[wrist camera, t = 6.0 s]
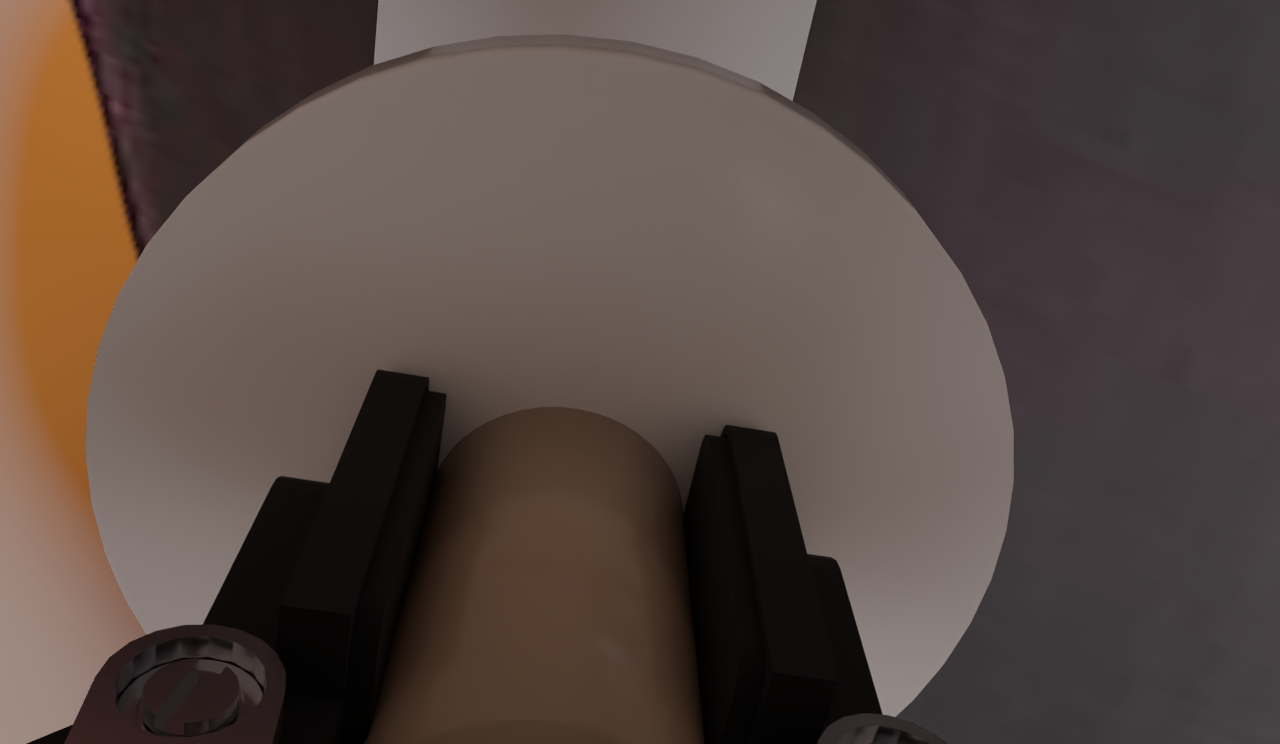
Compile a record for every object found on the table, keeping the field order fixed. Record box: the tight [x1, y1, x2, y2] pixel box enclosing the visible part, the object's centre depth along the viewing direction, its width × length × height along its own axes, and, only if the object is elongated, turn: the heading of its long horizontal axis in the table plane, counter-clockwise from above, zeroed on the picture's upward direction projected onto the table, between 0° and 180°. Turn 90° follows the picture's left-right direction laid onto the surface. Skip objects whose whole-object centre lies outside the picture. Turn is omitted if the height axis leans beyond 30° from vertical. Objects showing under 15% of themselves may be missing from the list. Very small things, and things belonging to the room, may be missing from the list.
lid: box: [86, 34, 1014, 744], centre depth 11 cm, size 10×10×6 cm
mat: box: [374, 0, 817, 101], centre depth 32 cm, size 12×12×1 cm
